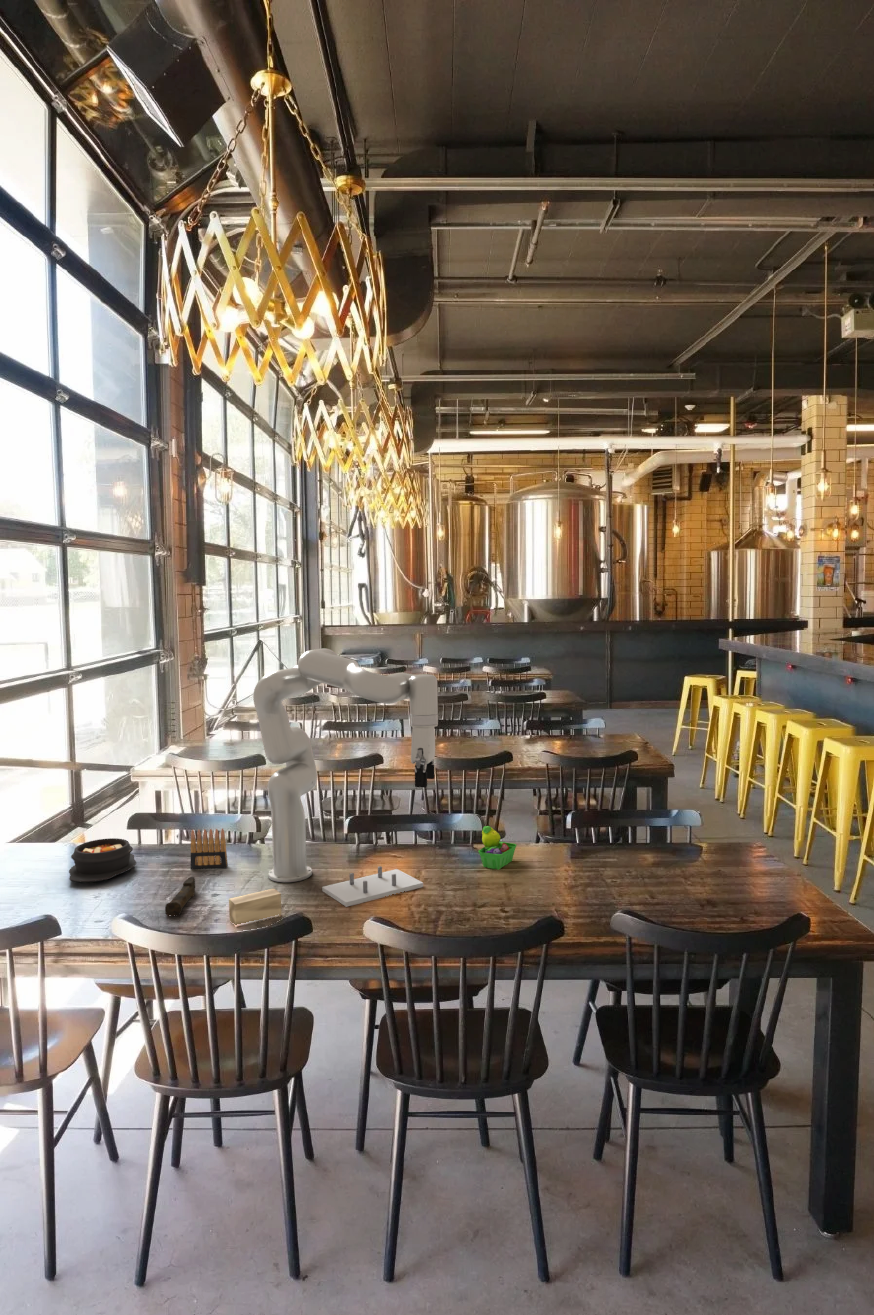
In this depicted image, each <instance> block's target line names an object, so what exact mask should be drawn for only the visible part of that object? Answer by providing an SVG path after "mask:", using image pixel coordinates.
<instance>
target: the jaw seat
mask: <svg viewBox="0 0 874 1315" xmlns="http://www.w3.org/2000/svg"><path fill="white" fill-rule="evenodd" d="M321 888H322V890H321V891H322V892H323V893H325V894H326V895H327V896H329V897H331V898H332V899H334V900H335V901H337V902H338V903H340V904H341V905H343V906H344V907H345V908H346V907H347V908H348V907H352V906H355V905H359V904H363V903H366V902H370V901H374V900H378V899H383V898H386V897H389V895H390V896H393V895H392V894H394V895H397V894H396V893H398V894H401V893H400V892H402V893H405V892H408V891H409V892H410V891H413V890H417V889H421V888H424V882H422V881H421V880H419V879H417V878H415V877H413V876H411V875H409V874H407V873H405V872H403V871H402V870H400V869H398V868H395V869H391V870H387V871H383V866H380V865H379V866H377V873H374V874H370V875H366V876H363V877H357V878H355V873H353V872H351V873H350V872H349V880H346V881H342V882H336V883H332V884H329V885H324V886H322V887H321ZM404 891H405V892H404ZM385 896H386V897H385Z"/></svg>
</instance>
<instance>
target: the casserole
mask: <svg viewBox="0 0 874 1315" xmlns="http://www.w3.org/2000/svg"><path fill="white" fill-rule="evenodd" d="M133 849H134V848H133V847H132V846H131V845H130V842H129V840H126V839H124V838H123V839H122V838H118V837H117V838H114V837H113V838H110V837H109V838H99V839H95V840H90V841H86V842H83V843H81V844H78V845H77V846H76V847H75V848H74V850H73V853H72V854H71V856H70V858H71V859H72V860H73V863H74V865H73V866H71V867H70V868H69V870H68V873H69V881H72V882H76V883H77V882H79V883H93V882H102V881H107V880H109V879H112V878H113V877H115V876H117V875H120V874H123V873H125V872H127V871H129V870H131V869H133V868H134V867H135V866H136V865H137V861H136V859H135V855H134V854H133V853H132V851H133Z"/></svg>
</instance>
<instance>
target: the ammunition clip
mask: <svg viewBox="0 0 874 1315" xmlns="http://www.w3.org/2000/svg"><path fill="white" fill-rule="evenodd" d="M194 830H195V829H192V830H191V831H190V832H191V833H190V870H194V871H195V870H213V869H218V870H219V869H220V870H221V869H227V868H228V855H227V852H228V851H227V842H226V841H227V840H226V835H225V830H224V828H221V830H220V831H221V832H220V833H219V830H218V828H215V832H214V831H213V830H212V828H209V833H207V830H206V828H204V830H203V834H202V832H201V830H200V829H198V830H197V832H196V833H195V831H194ZM213 832H214V833H213Z"/></svg>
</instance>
